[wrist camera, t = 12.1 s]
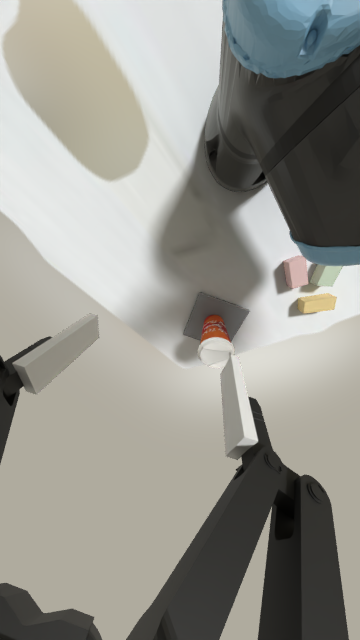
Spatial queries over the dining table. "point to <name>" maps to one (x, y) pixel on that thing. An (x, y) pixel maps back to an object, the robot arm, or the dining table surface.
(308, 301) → the ochre brick
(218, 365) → the paper cup
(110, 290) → the dining table surface
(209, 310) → the slate mat
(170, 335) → the dining table surface
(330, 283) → the sage brick
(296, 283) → the rose brick
